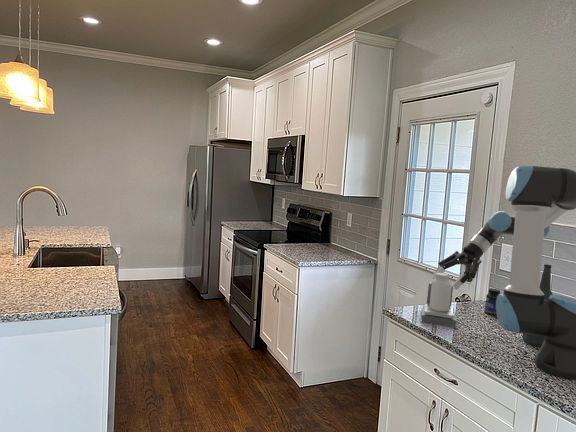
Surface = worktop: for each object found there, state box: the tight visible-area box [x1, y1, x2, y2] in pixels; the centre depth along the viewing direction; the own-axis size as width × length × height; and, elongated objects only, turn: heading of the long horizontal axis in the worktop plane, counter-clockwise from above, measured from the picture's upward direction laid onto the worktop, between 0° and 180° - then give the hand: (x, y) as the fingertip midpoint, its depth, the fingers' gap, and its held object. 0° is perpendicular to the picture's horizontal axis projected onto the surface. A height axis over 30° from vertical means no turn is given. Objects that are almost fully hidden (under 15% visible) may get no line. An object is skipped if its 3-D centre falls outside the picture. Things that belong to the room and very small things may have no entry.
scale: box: [421, 281, 457, 329], centre depth 185 cm, size 18×13×13 cm
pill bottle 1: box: [430, 272, 453, 312], centre depth 182 cm, size 8×8×15 cm
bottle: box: [522, 264, 554, 348], centre depth 163 cm, size 10×10×30 cm
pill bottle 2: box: [484, 288, 501, 316], centre depth 198 cm, size 6×6×11 cm
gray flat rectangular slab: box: [424, 302, 454, 319], centre depth 184 cm, size 14×11×1 cm
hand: (443, 283), depth 183 cm, fingers open, 13 cm apart
